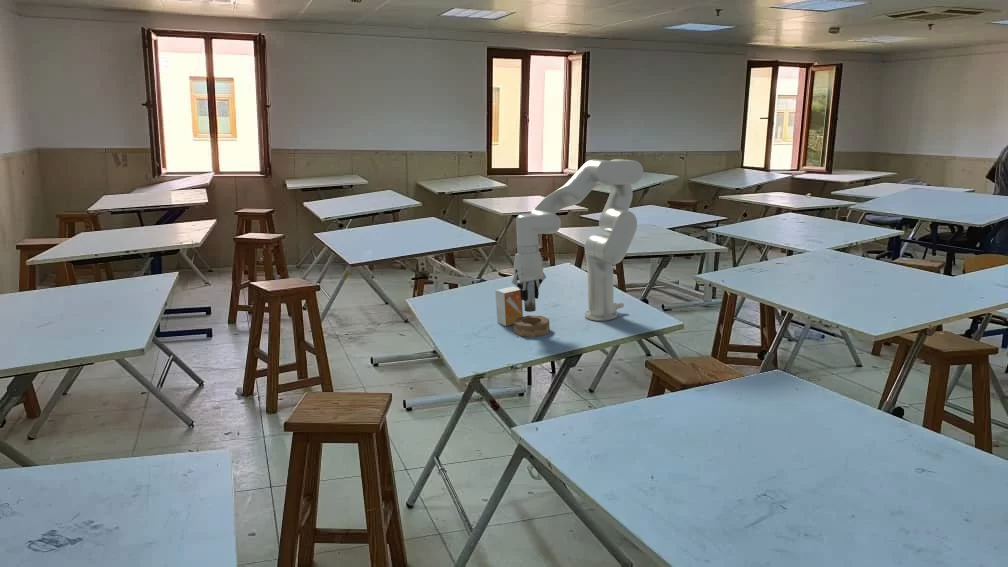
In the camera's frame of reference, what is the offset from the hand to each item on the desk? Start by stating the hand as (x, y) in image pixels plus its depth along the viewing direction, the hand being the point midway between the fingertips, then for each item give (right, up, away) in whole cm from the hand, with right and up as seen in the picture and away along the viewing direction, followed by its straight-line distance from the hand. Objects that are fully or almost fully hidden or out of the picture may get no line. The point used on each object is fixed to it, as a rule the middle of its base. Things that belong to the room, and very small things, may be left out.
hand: (529, 298), depth 254 cm
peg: (0, -4, +1) cm, 4 cm away
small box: (-7, -10, +15) cm, 19 cm away
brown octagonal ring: (+1, -12, +3) cm, 12 cm away
